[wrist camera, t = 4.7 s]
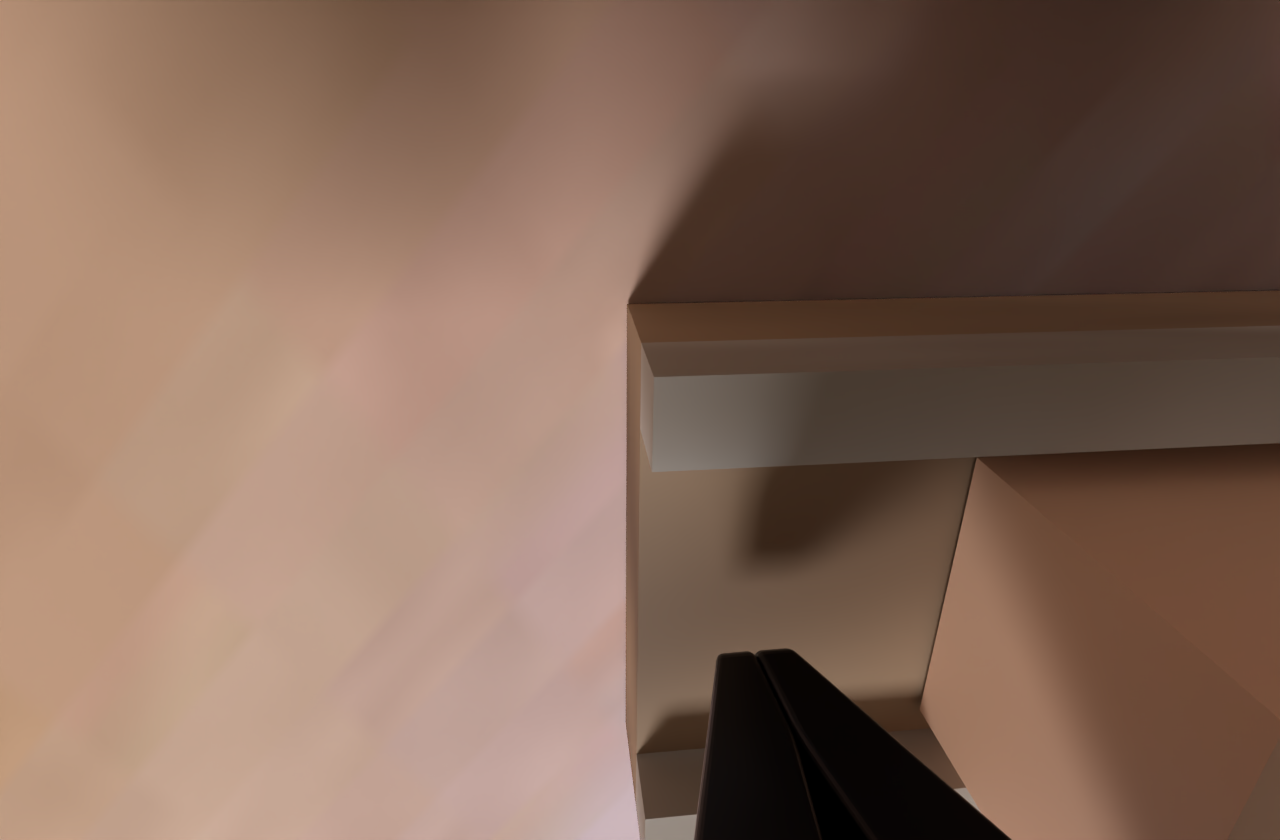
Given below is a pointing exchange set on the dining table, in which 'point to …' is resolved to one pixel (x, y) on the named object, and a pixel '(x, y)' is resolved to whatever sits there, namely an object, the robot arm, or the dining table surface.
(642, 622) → the track
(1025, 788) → the block
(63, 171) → the dining table surface
